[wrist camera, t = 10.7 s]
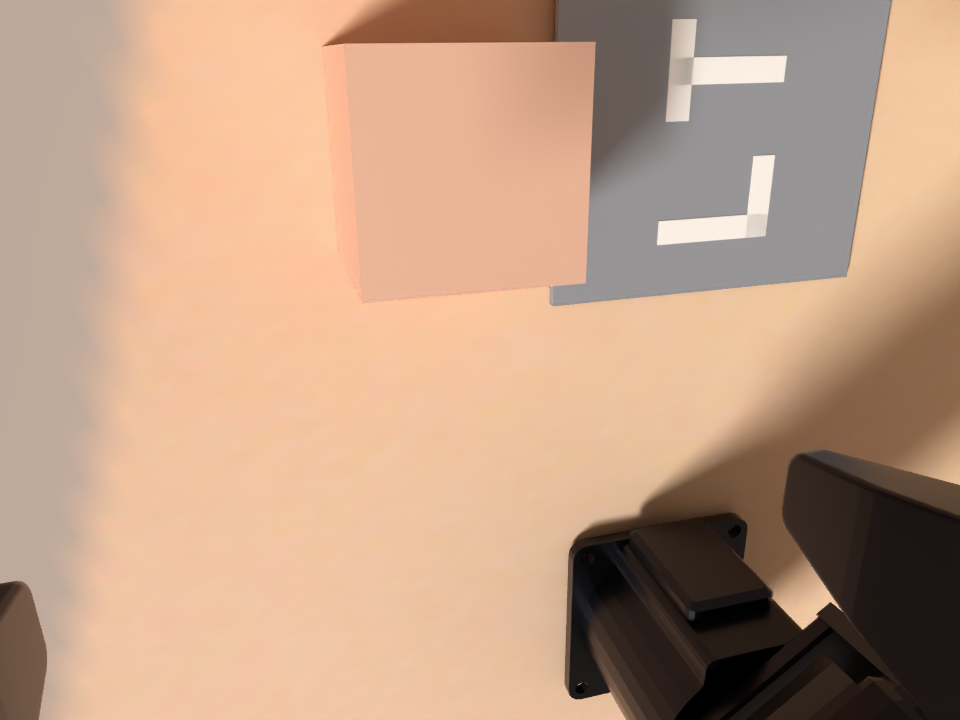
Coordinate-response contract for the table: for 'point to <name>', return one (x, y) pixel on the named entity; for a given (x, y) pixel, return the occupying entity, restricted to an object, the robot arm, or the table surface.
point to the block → (460, 165)
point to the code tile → (723, 140)
